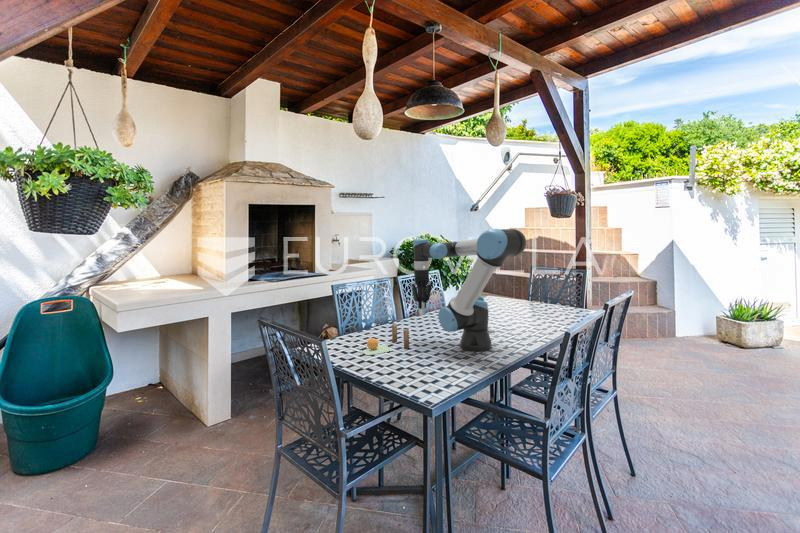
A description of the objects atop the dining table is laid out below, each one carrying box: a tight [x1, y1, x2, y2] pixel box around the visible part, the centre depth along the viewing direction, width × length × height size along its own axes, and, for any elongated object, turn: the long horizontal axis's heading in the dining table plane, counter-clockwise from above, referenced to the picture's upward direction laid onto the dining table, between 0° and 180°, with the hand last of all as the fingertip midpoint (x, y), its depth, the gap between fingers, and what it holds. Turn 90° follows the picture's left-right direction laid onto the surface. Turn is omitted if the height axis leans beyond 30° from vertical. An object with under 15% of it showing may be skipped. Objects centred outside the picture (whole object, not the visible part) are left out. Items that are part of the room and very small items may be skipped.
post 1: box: [391, 323, 398, 343], centre depth 197 cm, size 3×3×9 cm
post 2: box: [403, 328, 410, 350], centre depth 186 cm, size 3×3×9 cm
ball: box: [366, 337, 379, 350], centre depth 185 cm, size 6×6×6 cm
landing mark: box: [360, 343, 395, 356], centre depth 185 cm, size 14×14×1 cm
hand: (422, 314), depth 196 cm, fingers closed
